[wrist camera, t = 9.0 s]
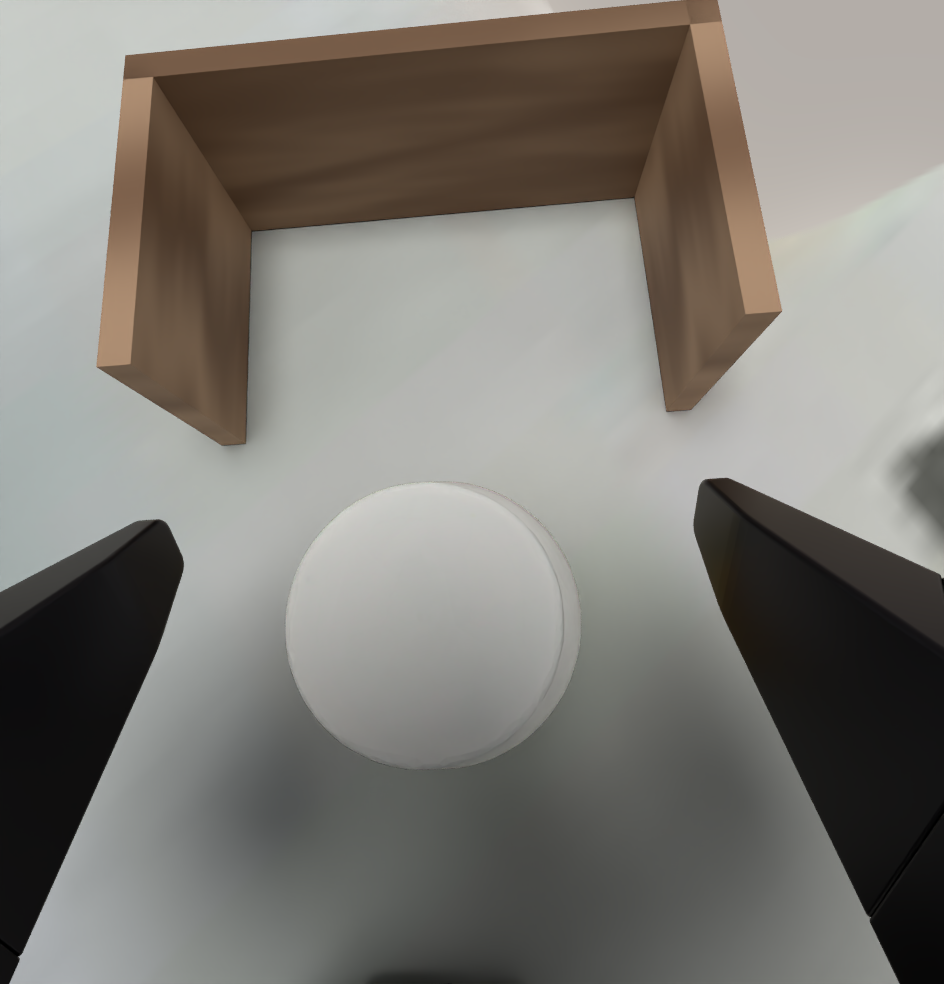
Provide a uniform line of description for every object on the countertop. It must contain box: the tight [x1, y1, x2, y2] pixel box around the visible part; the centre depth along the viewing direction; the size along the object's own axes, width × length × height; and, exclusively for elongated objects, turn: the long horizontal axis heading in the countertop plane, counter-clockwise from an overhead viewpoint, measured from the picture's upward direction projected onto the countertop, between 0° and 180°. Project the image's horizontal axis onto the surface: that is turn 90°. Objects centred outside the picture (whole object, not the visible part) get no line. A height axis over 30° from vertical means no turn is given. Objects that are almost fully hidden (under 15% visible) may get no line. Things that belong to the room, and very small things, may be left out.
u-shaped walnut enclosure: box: [97, 0, 782, 445], centre depth 17 cm, size 9×16×6 cm, turn 94°
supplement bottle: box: [285, 482, 581, 770], centre depth 12 cm, size 5×5×10 cm
